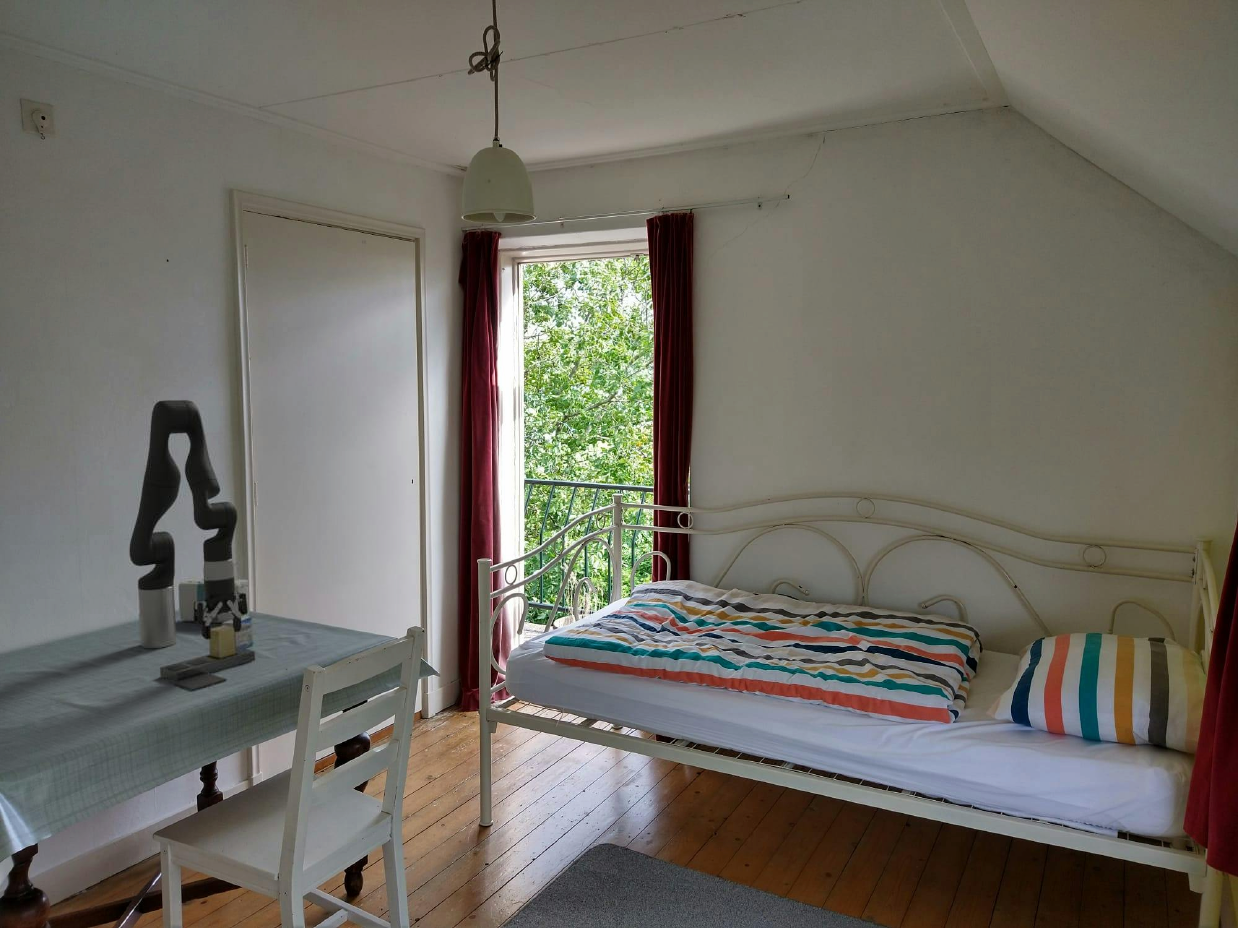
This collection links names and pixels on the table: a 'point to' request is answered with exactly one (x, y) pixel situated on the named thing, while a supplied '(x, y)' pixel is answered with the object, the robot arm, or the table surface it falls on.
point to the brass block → (222, 642)
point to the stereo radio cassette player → (195, 593)
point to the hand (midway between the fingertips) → (222, 635)
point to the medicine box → (242, 632)
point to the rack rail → (205, 665)
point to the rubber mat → (199, 681)
